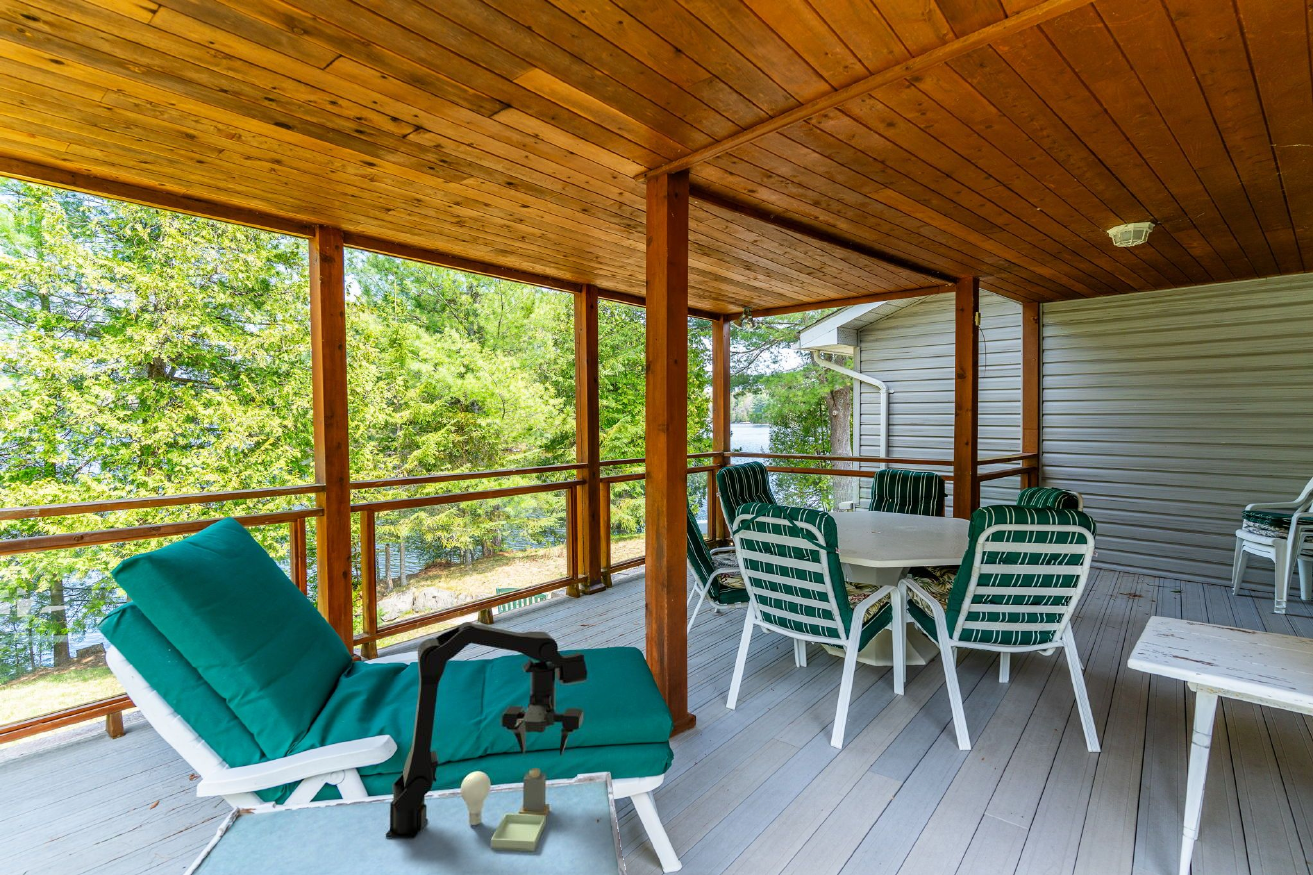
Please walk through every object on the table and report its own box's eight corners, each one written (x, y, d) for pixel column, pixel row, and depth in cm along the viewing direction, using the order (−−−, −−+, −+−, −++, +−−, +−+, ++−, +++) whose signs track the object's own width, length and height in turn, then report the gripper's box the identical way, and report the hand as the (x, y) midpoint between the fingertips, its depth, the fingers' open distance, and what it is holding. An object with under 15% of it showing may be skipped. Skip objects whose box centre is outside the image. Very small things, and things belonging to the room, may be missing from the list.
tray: (490, 849, 123) (490, 839, 123) (505, 822, 132) (505, 813, 132) (534, 851, 123) (534, 841, 123) (545, 824, 132) (545, 815, 132)
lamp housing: (518, 818, 134) (519, 774, 134) (523, 809, 137) (524, 766, 138) (545, 819, 133) (545, 775, 134) (549, 810, 137) (549, 767, 137)
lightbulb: (481, 834, 128) (482, 782, 128) (454, 830, 129) (455, 779, 130) (495, 817, 134) (495, 767, 135) (469, 814, 136) (469, 764, 136)
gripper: (493, 699, 136) (492, 769, 136) (574, 702, 135) (573, 773, 134) (509, 681, 147) (508, 746, 147) (583, 684, 146) (583, 749, 145)
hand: (542, 753), depth 143 cm, fingers open, 9 cm apart
